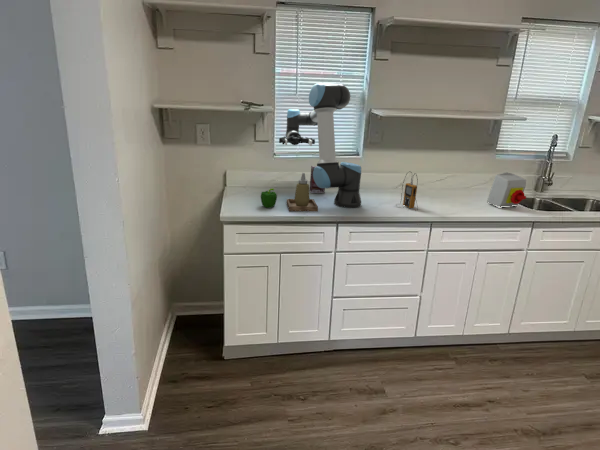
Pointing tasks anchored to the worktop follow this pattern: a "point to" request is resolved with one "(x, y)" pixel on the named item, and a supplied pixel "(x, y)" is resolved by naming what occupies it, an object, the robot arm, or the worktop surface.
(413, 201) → the multimeter
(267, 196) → the bell pepper
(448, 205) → the worktop surface
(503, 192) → the electrical switch box
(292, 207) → the walnut tray
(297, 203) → the squeeze bottle
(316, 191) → the supplement box
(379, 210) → the worktop surface
